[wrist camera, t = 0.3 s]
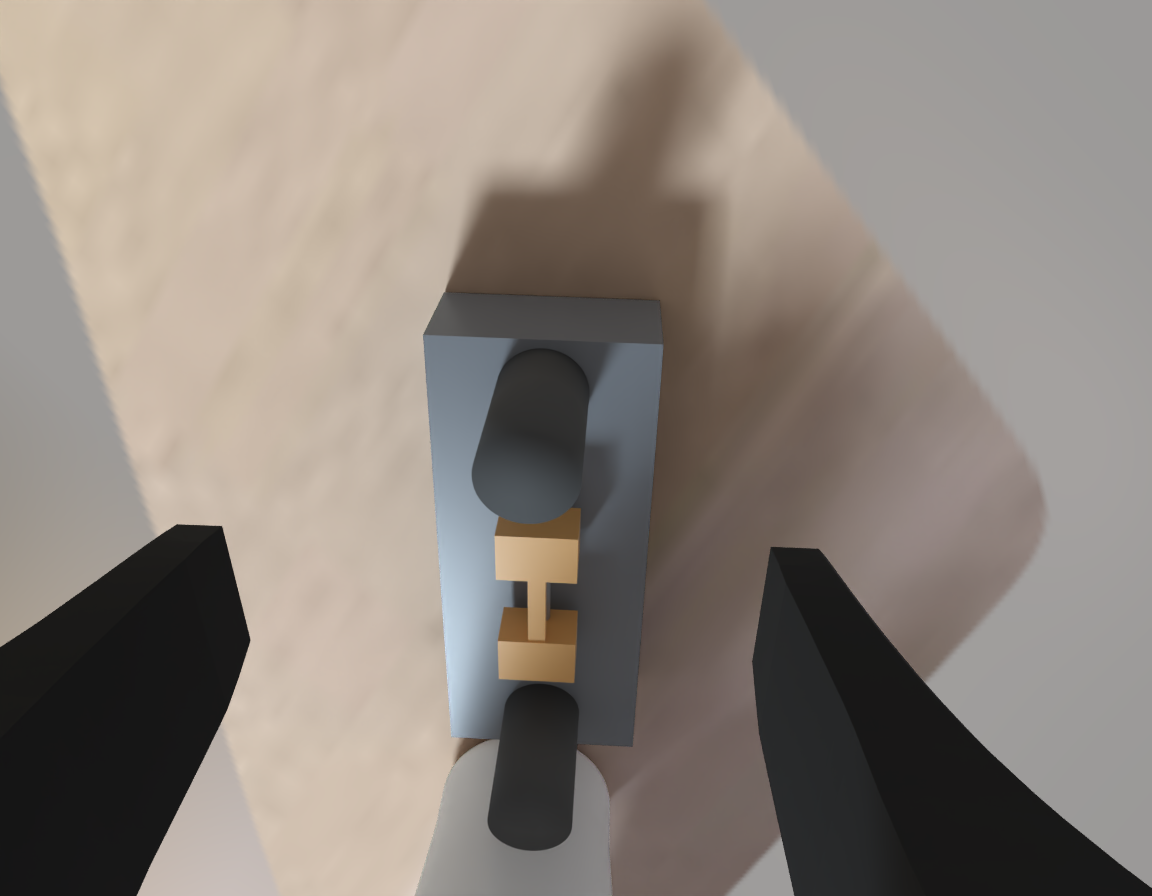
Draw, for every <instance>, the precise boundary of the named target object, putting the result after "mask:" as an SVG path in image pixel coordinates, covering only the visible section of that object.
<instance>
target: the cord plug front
mask: <svg viewBox="0 0 1152 896" xmlns="http://www.w3.org/2000/svg"><path fill="white" fill-rule="evenodd" d="M588 404H589V384H588V380H587V377H586V375H585V373H584V371H583V370H582V368H581V367H580V366H579V365H578V364H577V363H576V362H575V361H574V360H573V359H572V358H570V357H569V356H567V355H565V354H563V353H561V352H559V351H556V350H552V349H545V348H536V349H530V350H526V351H523V352H521V353H519V354H517V355H515V356H514V357H512V358H511V359H510V360H509V361H508V362H507V363H506V364H505V365H504V366H503V368H502V369H501V371H500V373H499V376H498V379H497V382H496V386H495V389H494V393H493V396H492V400H491V403H490V407H489V410H488V413H487V417H486V420H485V424H484V427H483V431H482V434H481V438H480V441H479V444H478V448H477V451H476V455H475V458H474V462H473V466H472V483H473V487H474V490H475V492H476V494H477V496H478V497H479V499H480V500H481V502H482V503H483V504H484V505H485V506H486V507H487V508H488V509H489V510H490V511H492V512H493V513H494V514H496V515H498V516H500V517H502V518H504V519H506V520H509V521H512V522H516V523H522V524H538V523H544V522H548V521H551V520H553V519H556V518H558V517H560V516H561V515H563V514H564V513H565V512H567V511H568V510H569V509H570V508H571V507H572V506H573V504H574V503H575V501H576V500H577V498H578V496H579V494H580V490H581V485H582V474H583V463H584V451H585V439H586V428H587V416H588Z"/></svg>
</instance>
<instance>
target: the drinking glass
mask: <svg viewBox="0 0 1152 896" xmlns="http://www.w3.org/2000/svg"><path fill="white" fill-rule="evenodd" d="M499 741H500V740H497V739H490V740H487V741H485V742H482V743H480V744H478V745H476V746H474V747H473V748H471V749H470V750H468V751H467V752H466V753H465V754H463V755H462V756H461V757H460V758H459V759H458V760H457V762H456V763H455V764H454V766H453V767H452V769H451V771H450V772H449V774H448V777H447V779H446V782H445V785H444V789H443V794H442V798H441V803H440V808H439V812H438V817H437V822H436V826H435V830H434V833H433V837H432V840H431V843H430V847H429V850H428V853H427V857H426V860H425V863H424V867H423V870H422V873H421V877H420V880H419V883H418V887H417V890H416V893H415V896H613V895H612V880H611V865H610V848H609V836H610V800H609V793H608V789H607V785H606V783H605V780H604V778H603V776H602V774H601V772H600V771H599V770H598V768H597V767H596V766H595V765H594V763H593V762H592V761H591V760H590V759H589V758H587V757H586V756H585V755H584V754H582V753H581V752H580V751H578V750H577V754H576V771H575V788H574V804H573V821H572V830H571V833H570V835H569V837H568V838H567V839H566V840H565V841H564V842H563V843H561V844H560V845H558V846H556V847H553V848H550V849H547V850H541V851H527V850H520V849H516V848H513V847H510V846H508V845H506V844H504V843H502V842H501V841H499V840H498V839H497V838H496V837H495V836H494V835H493V834H492V833H491V831H490V829H489V827H488V823H487V818H488V811H489V805H490V799H491V792H492V786H493V779H494V773H495V766H496V760H497V754H498V747H499Z"/></svg>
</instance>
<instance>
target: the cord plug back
mask: <svg viewBox="0 0 1152 896" xmlns="http://www.w3.org/2000/svg"><path fill="white" fill-rule="evenodd" d="M578 721H579V708H578V705H577V702H576V701H575V699H574V698H573V697H572V696H571V695H570V694H569V693H568V692H566V691H565V690H563V689H561V688H559V687H556V686H553V685H548V684H530V685H526V686H523V687H521V688H518V689H517V690H515V691H514V692H513V693H512V694H511V695H510V696H509V697H508V699H507V701H506V703H505V709H504V715H503V721H502V728H501V734H500V741H499V747H498V754H497V760H496V766H495V773H494V779H493V786H492V792H491V799H490V805H489V811H488V818H487V823H488V827H489V829H490V831H491V833H492V834H493V835H494V836H495V837H496V838H497V839H498V840H499V841H501V842H502V843H504V844H506V845H508V846H510V847H513V848H516V849H520V850H527V851H541V850H547V849H550V848H553V847H556V846H558V845H560V844H561V843H563V842H564V841H565V840H566V839H567V838H568V837H569V835H570V833H571V830H572V821H573V804H574V788H575V771H576V754H577V738H578Z"/></svg>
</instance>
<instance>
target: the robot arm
mask: <svg viewBox="0 0 1152 896" xmlns="http://www.w3.org/2000/svg"><path fill="white" fill-rule="evenodd" d="M249 644H250V636H249V632H248V628H247V624H246V620H245V616H244V612H243V608H242V604H241V600H240V596H239V592H238V588H237V584H236V580H235V576H234V572H233V568H232V564H231V560H230V556H229V552H228V548H227V544H226V540H225V536H224V532H223V528H222V526H205V525H178V524H177V525H175V526H174V527H172V528H171V529H169V530H168V531H166V532H164V533H163V534H161V535H160V536H158V537H157V538H156V539H154V540H153V541H151V542H150V543H148V544H147V545H146V546H144V547H143V548H142V549H140V550H138V551H137V552H136V553H134V554H133V555H131V556H130V557H129V558H127V559H126V560H125V561H123V562H122V563H120V564H119V565H118V566H116V567H115V568H114V569H112V570H111V571H109V572H108V573H107V574H105V575H104V576H102V577H101V578H100V579H98V580H97V581H96V582H94V583H93V584H91V585H90V586H89V587H87V588H86V589H84V590H83V591H82V592H80V593H79V594H77V595H76V596H75V597H73V598H72V599H70V600H69V601H67V602H66V603H65V604H63V605H62V606H60V607H59V608H58V609H56V610H55V611H53V612H52V613H51V614H49V615H48V616H47V617H45V618H44V619H42V620H41V621H39V622H38V623H37V624H35V625H33V626H32V627H30V628H29V629H27V630H26V631H24V632H23V633H21V634H20V635H18V636H17V637H15V638H14V639H12V640H11V641H9V642H8V643H6V644H5V645H3V646H1V647H0V896H137V894H138V891H139V889H140V887H141V885H142V883H143V880H144V878H145V876H146V874H147V871H148V869H149V867H150V865H151V863H152V861H153V859H154V857H155V855H156V853H157V851H158V849H159V847H160V845H161V843H162V841H163V839H164V837H165V835H166V833H167V831H168V829H169V827H170V825H171V823H172V821H173V819H174V817H175V815H176V813H177V811H178V808H179V806H180V805H181V803H182V801H183V799H184V797H185V795H186V793H187V791H188V789H189V787H190V785H191V783H192V781H193V779H194V777H195V775H196V773H197V771H198V769H199V766H200V765H201V763H202V761H203V759H204V757H205V755H206V752H207V750H208V748H209V746H210V744H211V742H212V740H213V738H214V736H215V734H216V732H217V730H218V728H219V726H220V724H221V722H222V720H223V717H224V715H225V713H226V711H227V709H228V706H229V703H230V701H231V698H232V695H233V692H234V689H235V686H236V684H237V681H238V678H239V675H240V672H241V669H242V665H243V662H244V659H245V656H246V653H247V650H248V647H249ZM752 663H753V674H754V685H755V697H756V707H757V717H758V726H759V735H760V740H761V744H762V749H763V754H764V759H765V763H766V768H767V773H768V777H769V782H770V787H771V791H772V796H773V800H774V805H775V810H776V814H777V819H778V823H779V828H780V832H781V837H782V841H783V846H784V850H785V855H786V860H787V864H788V868H789V873H790V878H791V882H792V887H793V891H794V896H1152V888H1151V887H1149V886H1148V885H1147V884H1145V883H1144V882H1143V881H1141V880H1140V879H1139V878H1137V877H1136V876H1135V875H1134V874H1132V873H1131V872H1130V871H1128V870H1127V869H1125V868H1124V867H1123V866H1122V865H1120V864H1119V863H1118V862H1117V861H1115V860H1114V859H1113V858H1112V857H1110V856H1109V855H1108V854H1107V853H1105V852H1104V851H1103V850H1102V849H1101V848H1099V847H1098V846H1097V845H1096V844H1094V843H1093V842H1092V841H1091V840H1089V839H1088V838H1087V837H1085V836H1084V835H1083V834H1082V833H1081V832H1080V831H1078V830H1077V829H1076V828H1074V827H1073V826H1072V825H1071V824H1070V823H1068V822H1067V821H1066V820H1065V819H1063V818H1062V817H1061V816H1060V815H1059V814H1058V813H1056V812H1055V811H1054V810H1053V809H1052V808H1051V807H1050V806H1048V805H1047V804H1046V803H1045V802H1044V801H1043V800H1041V799H1040V798H1039V797H1038V796H1037V795H1036V794H1034V793H1033V792H1032V791H1031V790H1030V789H1029V788H1028V787H1027V786H1026V785H1025V784H1024V783H1023V782H1022V781H1020V780H1019V779H1018V778H1017V777H1016V776H1015V775H1014V774H1013V773H1012V772H1011V771H1010V770H1009V769H1008V768H1006V767H1005V766H1004V765H1003V764H1002V763H1001V762H1000V761H999V760H998V759H997V758H996V757H994V756H993V755H992V754H991V753H990V752H989V751H988V750H987V749H986V748H985V747H984V746H983V745H982V744H981V743H980V742H979V741H978V740H977V739H976V738H975V737H974V736H973V735H972V733H970V732H969V730H968V729H967V728H966V727H965V726H964V725H963V724H962V723H961V722H960V721H959V720H958V719H957V718H956V717H955V716H954V714H953V713H952V712H951V711H950V710H949V709H948V708H947V707H946V706H945V705H944V704H943V703H942V702H941V700H940V699H939V698H938V697H937V696H936V695H935V694H934V693H933V692H932V690H931V689H930V688H929V687H928V686H927V685H926V684H925V683H924V681H923V680H922V679H921V678H920V677H919V676H918V674H917V673H916V672H915V671H914V670H913V668H912V667H911V666H910V665H909V664H908V662H907V661H906V660H905V659H904V658H903V657H902V655H901V654H900V653H899V652H898V651H897V649H896V648H895V647H894V646H893V645H892V643H891V642H890V641H889V640H888V639H887V637H886V636H885V635H884V633H883V632H882V631H881V630H880V628H879V627H878V626H877V625H876V623H875V622H874V621H873V620H872V618H871V617H870V616H869V614H868V613H867V612H866V610H865V609H864V608H863V607H862V605H861V604H860V603H859V601H858V600H857V599H856V597H855V596H854V595H853V593H852V592H851V591H850V589H849V588H848V587H847V585H846V584H845V583H844V581H843V580H842V578H841V577H840V576H839V574H838V573H837V572H836V570H835V569H834V568H833V566H832V565H831V563H830V562H829V561H828V559H827V558H826V557H825V555H824V554H823V553H822V552H821V551H820V550H819V549H810V548H783V547H771V549H770V555H769V561H768V568H767V574H766V580H765V586H764V593H763V599H762V605H761V611H760V617H759V624H758V630H757V636H756V642H755V649H754V655H753V661H752Z"/></svg>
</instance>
